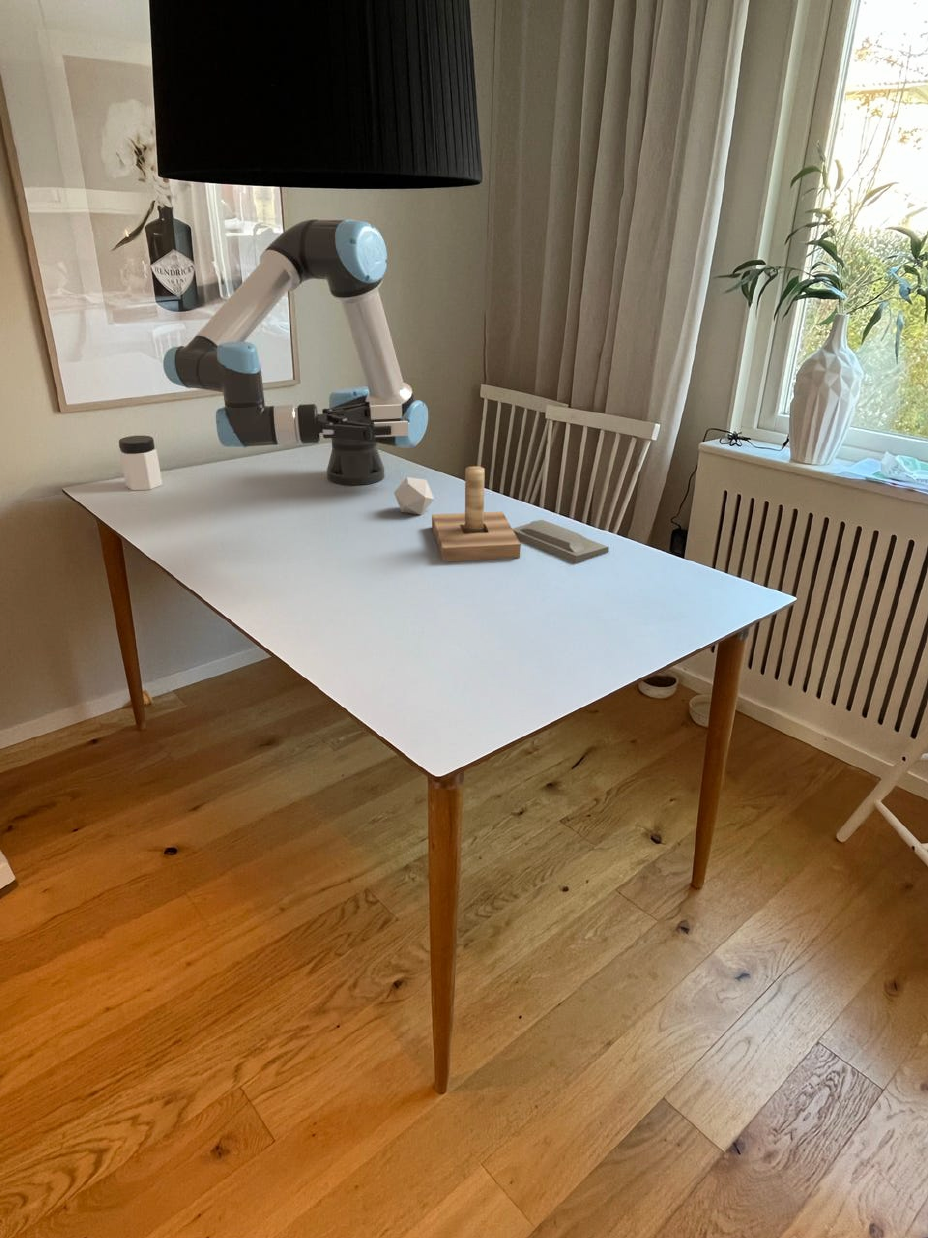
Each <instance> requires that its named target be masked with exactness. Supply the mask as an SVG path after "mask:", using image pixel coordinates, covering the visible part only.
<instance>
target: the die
mask: <svg viewBox="0 0 928 1238" xmlns="http://www.w3.org/2000/svg"><path fill="white" fill-rule="evenodd" d="M393 495H394V496H395V498H396V501H397V504H398V506H399V509H400V511H401V512H402V513H407V514H414V515H419V516H422V515H423V513H425V511H426V510H427V509H428V508H429V507H430V505H431V504H432V502H433V501H434V500H435V497H434V494H433V493H432V490H431V487H430V485H429V482H428V481H427V479H423V478H416V477H408V476H406V477H405V479H404V480H403V481H402V482H401V484H400V485H399V486H398V487H397V488H396V489H395V490H394V492H393Z"/></svg>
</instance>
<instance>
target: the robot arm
mask: <svg viewBox="0 0 928 1238" xmlns="http://www.w3.org/2000/svg"><path fill="white" fill-rule="evenodd" d="M387 260H388V253H387V247H386V244H385V240H384V238H383V237H382V234H380V232H379V230H378V229H377V228H376V227H375V226H374V225H372V224H370V223H369V222H366V221H364V220H363V221H362V220H356V219H353V218H352V219H349V218H348V219H307V220H303V221H300V222H298V223H296V224H294V225H292V226H291V227H290V228H288V229H287V230H285V231H284V232H282V233H281V234H279V236H277V237H276V238H275V239H274V240H273V241H272V242H271V243H270V244H269V245H268V246H267V247H266V248H265V249H264V250H263V251H262V253H261V254H260V256H259V264H258V265H257V266H256V267H255V269H254V270H253V271H252V272H251V273H250V274H249V275H248V276H247V277H246V279H245V280H244V281H243V282H242V283H241V284H240V285H239V286H238V288H237V289H236V290H235V291H234V292H233V293H232V294H231V296H229V298H228V299H227V300H226V301H225V302H224V303H223V305H222V306H221V307H220V308H219V309H218V310H217V311H216V312H215V314H214V315H213V316H212V317H211V318H210V319H209V320H208V322H207V323H205V325H204V326H203V327H202V329H200V331H198V333H197V334H196V335H195V336H194V337H193V338H192V339H191V340H190V341H189V342H188V344H187V345H186V346H184V345H180V346H173V347H171V348H170V349H168V350H167V351H166V352H165V354H164V356H163V359H162V360H163V361H162V365H163V370H164V374H165V376H166V378H167V379H168V380H169V381H170V382H171V383H173V384H175V385H177V386H181V387H185V388H187V389H198V390H206V391H211V392H213V391H214V392H219V393H222V395H223V400H224V406H223V407H221V408H217V410H216V412H215V422H216V423H215V424H216V432H217V437H218V440H219V442H220V444H221V445H222V446H224V447H237V448H238V447H242V448H247V447H261V446H271V445H272V446H277V445H283V447H284V448H287V447H289V445H296V444H298V443H299V441H300V443H301V444H318V443H319V442H320V439H321V438H320V437H321V435H320V434H322V436H323V437H322V438H323V439H331V453H330V457H329V459H328V465H327V468H326V473H327V474H326V475H327V476H326V477H327V480H328V481H329V482H332V483H333V484H337V485H345V486H362V485H370V484H374V483H378V482H379V481H382V480H383V479H384V478H385V467H384V464H383V461H382V458H381V455H380V454H379V450H378V447H377V444H380V445H381V444H382V445H386V446H387V445H388V446H392V447H397V448H409V449H410V448H413V447H415V446H417V445H418V444H419V443H420V442H421V440H422V439H423V438H424V436H425V433H426V432H427V431H426V430H427V428H428V423H429V409H428V407H427V405H426V403H425V402H423V401H422V400H418V399H417V400H416V399H415V397H414V391H413V389H412V387H411V386H410V384H407V383H405V382H404V380H403V379H404V378H403V376H402V373H401V368H400V364H399V362H398V358H397V355H396V351H395V347H394V344H393V339H392V335H391V333H390V329H389V325H388V322H387V318H386V313H385V311H384V306H383V303H382V300H381V296H380V293H379V289H380V287H381V285H382V283H383V276H384V274H385V272H386V269H387V262H386V261H387ZM316 279H317V280H325V281H327V285H328V289H329V292H330V294H331V296H332V297H333V298H335V299H336V300H338V301H340V302H341V303H340V304H341V306H342V309H343V313H344V315H345V319H346V322H347V325H348V328H349V331H350V332H349V333H350V335H351V339H352V341H353V345H354V347H355V351H356V355H357V357H358V361H359V364H360V367H361V369H362V374H363V375H364V379H365V380H364V381H365V382H366V385H365V386H352V387H347V388H345V387H344V388H341V389H337V390H334V391H332V392H331V393H330V394H329V396H328V403H329V405H328V408H323V409H322V411H321V412H322V413H318V407H317V405H316V404H315V403H310V404H299V405H297V407H296V406H295V405H294V404H283V405H270V406H269V405H265V396H264V395H265V393H264V386H263V378H262V377H263V375H262V365H261V362H260V357H259V353H258V347H257V345H255V343H252V342H250V341H246V340H248V338H249V337H250V336H251V335H252V333H253V332H254V331H255V330H256V329H257V328H258V327H259V325H260V324H261V323H262V322H263V321H264V319H265V318H267V316H268V315H269V314H270V312H271V311H272V310H274V307H275V306H276V305H278V303H279V302H280V300H282V299H283V297H284V296H285V295H286V294H287V292H293V291H295V290H297V289H298V288H299V286H301V284H302V283H304V282H306V281H309V280H316Z"/></svg>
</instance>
